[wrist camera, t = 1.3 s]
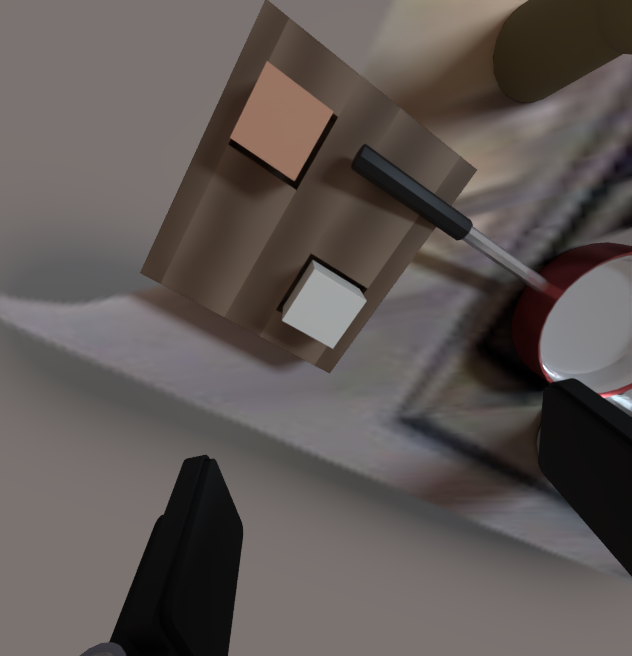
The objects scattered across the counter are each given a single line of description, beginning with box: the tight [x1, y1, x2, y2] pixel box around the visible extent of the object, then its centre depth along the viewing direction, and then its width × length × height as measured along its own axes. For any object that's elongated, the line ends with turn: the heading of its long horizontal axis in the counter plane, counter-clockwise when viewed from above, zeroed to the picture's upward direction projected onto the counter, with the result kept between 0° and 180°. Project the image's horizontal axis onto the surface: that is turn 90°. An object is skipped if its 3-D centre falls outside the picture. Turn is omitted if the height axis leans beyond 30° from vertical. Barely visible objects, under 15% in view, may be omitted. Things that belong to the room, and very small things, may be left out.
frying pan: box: [351, 144, 632, 398], centre depth 28 cm, size 32×13×6 cm, turn 66°
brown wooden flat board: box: [140, 0, 477, 373], centre depth 26 cm, size 16×18×4 cm
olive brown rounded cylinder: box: [493, 0, 632, 103], centre depth 19 cm, size 6×6×11 cm
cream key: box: [282, 260, 367, 349], centre depth 25 cm, size 4×4×3 cm
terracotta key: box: [230, 61, 334, 181], centre depth 21 cm, size 4×4×3 cm
